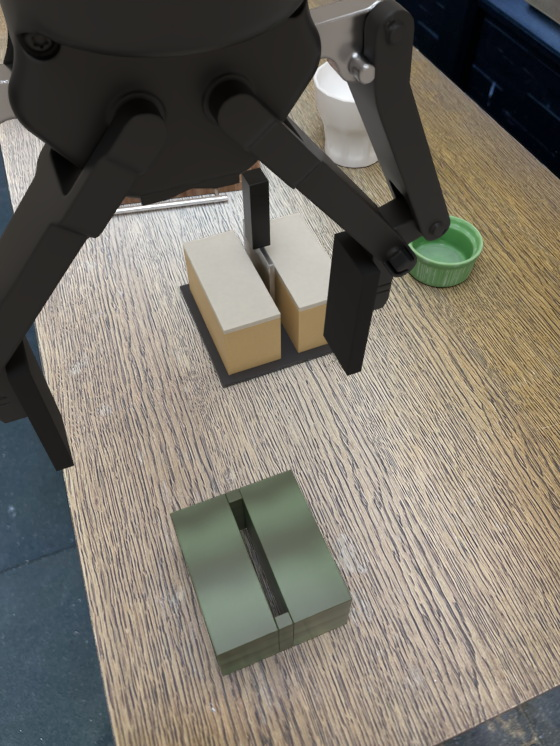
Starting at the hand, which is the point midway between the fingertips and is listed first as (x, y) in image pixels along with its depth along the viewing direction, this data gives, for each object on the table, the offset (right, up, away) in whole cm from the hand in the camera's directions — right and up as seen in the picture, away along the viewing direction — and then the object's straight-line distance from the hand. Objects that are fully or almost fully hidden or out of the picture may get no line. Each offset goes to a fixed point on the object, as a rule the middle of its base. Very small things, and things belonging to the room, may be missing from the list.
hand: (208, 396), depth 30 cm
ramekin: (+23, +14, +50) cm, 57 cm away
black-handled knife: (+1, +9, +46) cm, 47 cm away
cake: (+2, +8, +45) cm, 46 cm away
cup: (+14, +33, +65) cm, 74 cm away
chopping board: (-16, +40, +70) cm, 83 cm away
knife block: (+2, -17, +26) cm, 31 cm away
